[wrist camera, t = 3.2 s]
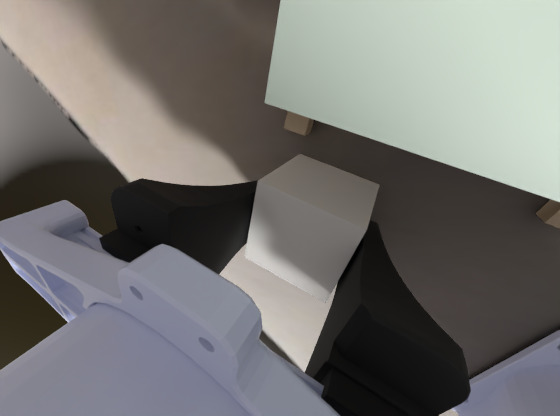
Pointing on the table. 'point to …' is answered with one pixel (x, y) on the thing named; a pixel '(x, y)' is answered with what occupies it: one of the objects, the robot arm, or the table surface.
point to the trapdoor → (431, 79)
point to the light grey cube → (309, 223)
